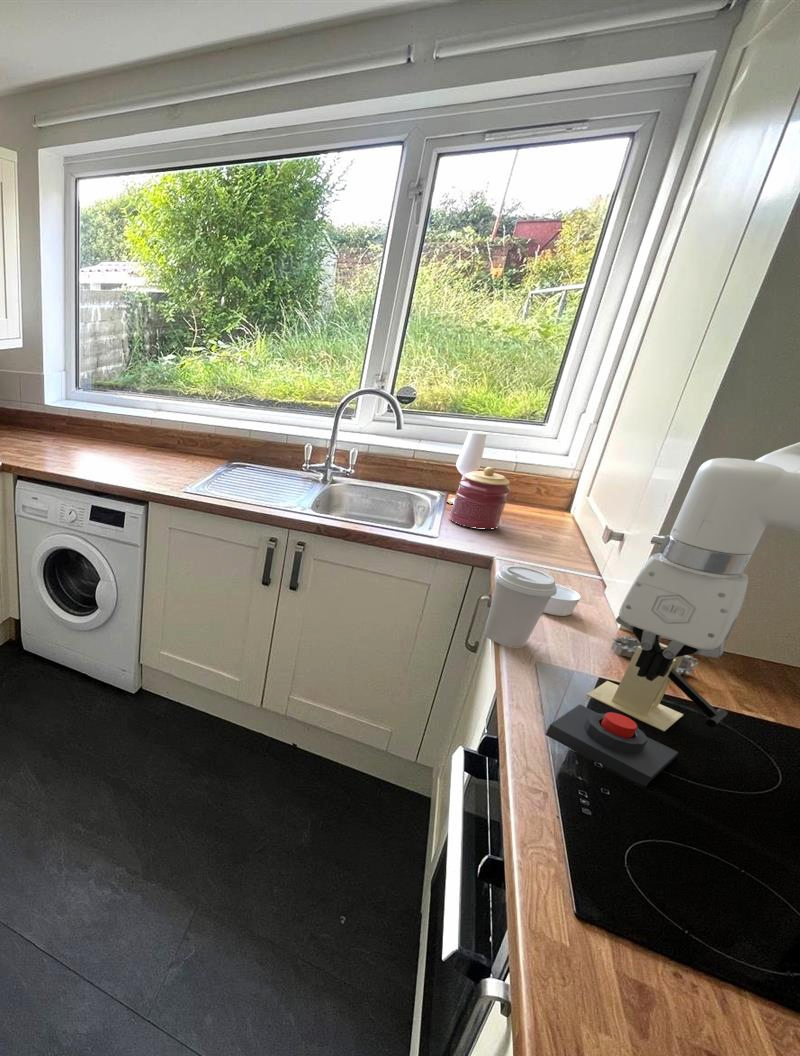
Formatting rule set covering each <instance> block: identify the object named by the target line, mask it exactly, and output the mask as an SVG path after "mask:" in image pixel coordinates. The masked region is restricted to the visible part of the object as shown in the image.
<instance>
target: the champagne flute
mask: <svg viewBox="0 0 800 1056" xmlns="http://www.w3.org/2000/svg"><path fill="white" fill-rule="evenodd" d="M487 435H488V433H487V432H485V431H479V430H469V431H468V434H467V435H466V438H465V441H464V443H463V446H462V448H461V450H460V452H459V455H458V458H457V460H456V463H455V467H456V469H457V471H458V473H460V475H461V480H464V479H465V478H466V477H465V474H467V473H471V472H472V471H480V468H481V465H482V461H483V460H482V459H483V455H484V450H485V445H486V439H487ZM459 488H460V485H459V487H458V489H459ZM449 500H450V501H451V502H453V503H454V500H455V497H454V498H450V499H449Z"/></svg>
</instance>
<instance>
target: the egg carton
mask: <svg viewBox="0 0 800 1056" xmlns="http://www.w3.org/2000/svg"><path fill="white" fill-rule="evenodd" d="M611 639H612V640H613V642H612V645H611V647H610V649H611V650H612V651H614V652H613V653H614V654H615V655H618V656H624V657H628V658H630V659H632V657H633V655H634V653H635V651H636V649H637V647H638V646H640V644H641V643H640V642H639V641H638V639H637V638H635V637H632V636H631V635H629V636H627V635H626V636H621V637H616V638H614V637H612V638H611ZM698 664H700V659H698V658H695V657H694V656H692V655H685V656H684V658H683V659H682V661H681V663H680V665H679V667H678V669H677V671H676V672H677V673H678V674H679V675H680V676H681V675H684V676H690V675H691V673H692V671H693V669H694V668H693V667H694V666H697V665H698Z"/></svg>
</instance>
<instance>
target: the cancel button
mask: <svg viewBox="0 0 800 1056" xmlns="http://www.w3.org/2000/svg"><path fill="white" fill-rule="evenodd" d="M604 714H605V716H604V718H603V720H602V722H601V726H602V727H603V728H604V729H606V730H607V731H609V732H611V733H613V734H615V735H617V736H621V737H624V738H631V737H633V735H634V733H635V731H636V729H637V728H638V724H637V723H636V721H634V720H632V719H631V718H630V717H628V716H626V715H623V714H621V713H617V712H613V711H612V712H606V713H604Z"/></svg>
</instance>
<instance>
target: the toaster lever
mask: <svg viewBox="0 0 800 1056" xmlns="http://www.w3.org/2000/svg"><path fill="white" fill-rule="evenodd" d="M668 678H669V679H670V680H672V681H671V682H672V683H673V684H675V686H677V687H678V689H679V690H681V691H682V693H684V695H686V696H687V698H689V699H690V700H691V702H693V704H695V705H696V707H698V708H699V709H700V710H701V711H702V712H703V713H704V714H705V715H706V716H707V718H706V719H705V721H704V724H706V725H707V727H711V728H715V727H717V726H718V724H720V723H721V722H722V721H723V720H724V719H725V718H727V716H728V714H729V713H728V711H727V710H726V709H725V708H718V709H716V708H714V707H713V706H712V705H711V704H710V702H708V701H707V700H706V699H705V698H704V697H703V696H702V695H701V694H700V693H699V692H698V691H697V690H696V689H695V688H694V687H693V686H692V685H691V684H690V683H689V682H688V681H686V680H685V678H684V677H683V676H681V675H679V674H678V673H677V672H676V671H675V670H674V669H673V668H672V669H671V671H670V673H669V675H668Z"/></svg>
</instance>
